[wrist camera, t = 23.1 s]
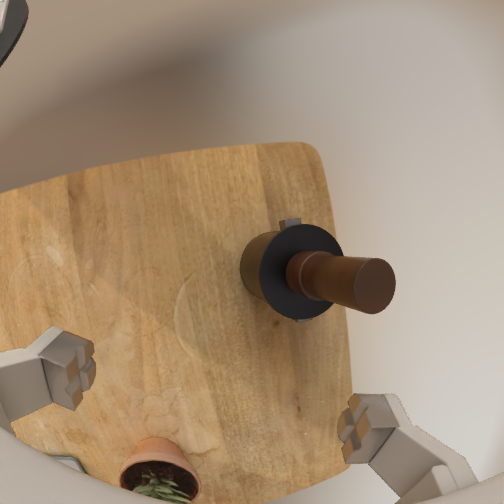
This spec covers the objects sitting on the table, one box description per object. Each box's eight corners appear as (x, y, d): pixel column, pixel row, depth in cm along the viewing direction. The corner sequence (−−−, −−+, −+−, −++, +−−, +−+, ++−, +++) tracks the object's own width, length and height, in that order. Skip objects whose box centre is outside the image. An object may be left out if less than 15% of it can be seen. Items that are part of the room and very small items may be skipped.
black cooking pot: (231, 229, 33) (251, 223, 25) (301, 220, 36) (339, 212, 27) (244, 314, 34) (267, 335, 26) (311, 299, 36) (350, 313, 28)
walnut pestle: (282, 254, 26) (346, 259, 16) (322, 247, 27) (396, 248, 17) (288, 299, 26) (351, 326, 16) (327, 290, 27) (400, 309, 17)
